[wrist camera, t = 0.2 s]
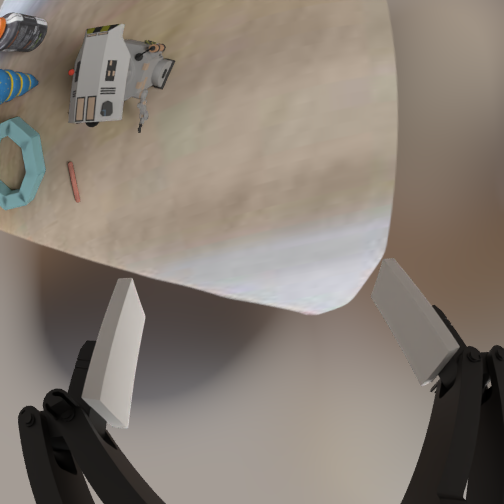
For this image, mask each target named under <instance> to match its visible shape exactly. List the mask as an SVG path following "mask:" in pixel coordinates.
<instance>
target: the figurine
mask: <svg viewBox="0 0 504 504" xmlns="http://www.w3.org/2000/svg"><path fill="white" fill-rule="evenodd" d="M124 26H125V24H116V25H109V26H102V27H96V28H91V29H87V30H86V33H85V37H84V42H83V44H82V47H81V49H80V51H79V54H78V56H77V59H76V62H75V68H74V69H71V70H69V72H68V74H69V75H73V81H72V88H71V97H70V107H69V121H68V123H76V124H78V123H83V122H85V123H86V125H87V126H89V127H94V126H96V125H97V124H98V123H99V122H100V121H114V120H122V113H123V103H124V101H125V100H127V99H129V98H131V97H134V98H138V99H141V101H140V103H138V104H137V107H138V108H139V109H140V119H141V120H140V123H139V128H138V131H139V132H138V133H141V127H142V124H144V120H147V119H148V111H147V110H146V105H145V104H146V103H147V100H146V99H145V98H146V96H147V93H148V90H146V89H147V88H149V87H151V86H152V85H154V87H156V88H160V89H163V87H164V85H165V83H166V80H167V78H168V76H169V74H170V71H171V69H172V67H173V65H174V63H175V61H174V60H171V59H163V56H162V54H161V53H163V51H164V50H165V48H166V47H165V45H164V44H159V43H156V42H152V41H149V40H148V41H147V40H146V41H145V42H140V41H135V40H123V37H122V34H123V30H124Z"/></svg>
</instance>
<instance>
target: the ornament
mask: <svg viewBox="0 0 504 504" xmlns="http://www.w3.org/2000/svg"><path fill="white" fill-rule="evenodd" d="M36 85H38V80H36V79H35V77H34V76H32V75H31V74H24V73H21V72H14V71H12V70H2V69H0V104H2V103H3V102H8V101H10V100H12V99H13V98H14V97H18V96H21V95H23V94H24V93H26V92H27V91H29V90H30V89H32V88H33V87H35V86H36Z"/></svg>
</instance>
